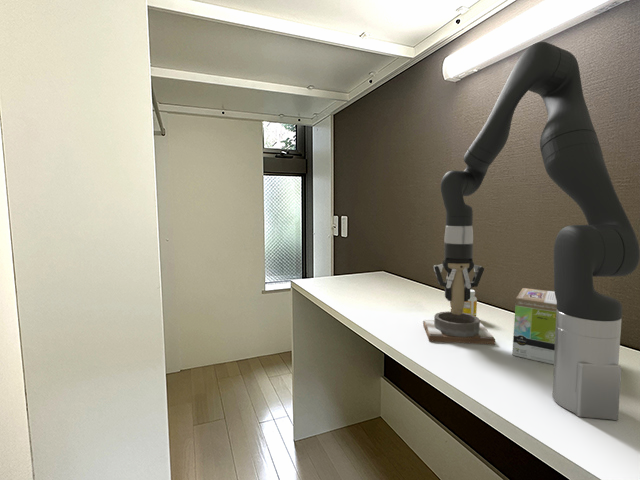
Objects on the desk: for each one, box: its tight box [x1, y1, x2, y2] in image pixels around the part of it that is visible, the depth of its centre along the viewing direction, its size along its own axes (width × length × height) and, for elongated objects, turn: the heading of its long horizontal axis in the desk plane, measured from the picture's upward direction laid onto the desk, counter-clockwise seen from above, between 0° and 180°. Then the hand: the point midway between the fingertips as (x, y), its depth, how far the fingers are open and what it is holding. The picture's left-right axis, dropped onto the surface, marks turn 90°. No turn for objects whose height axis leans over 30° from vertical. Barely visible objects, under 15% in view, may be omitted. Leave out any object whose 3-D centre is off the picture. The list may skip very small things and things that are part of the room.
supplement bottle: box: [463, 288, 478, 317], centre depth 112 cm, size 5×5×10 cm
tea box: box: [512, 287, 557, 365], centre depth 86 cm, size 15×10×15 cm
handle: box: [448, 263, 469, 315], centre depth 97 cm, size 5×6×15 cm
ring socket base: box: [422, 310, 496, 345], centre depth 98 cm, size 13×17×5 cm
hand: (457, 300), depth 97 cm, fingers closed on handle, 4 cm apart
